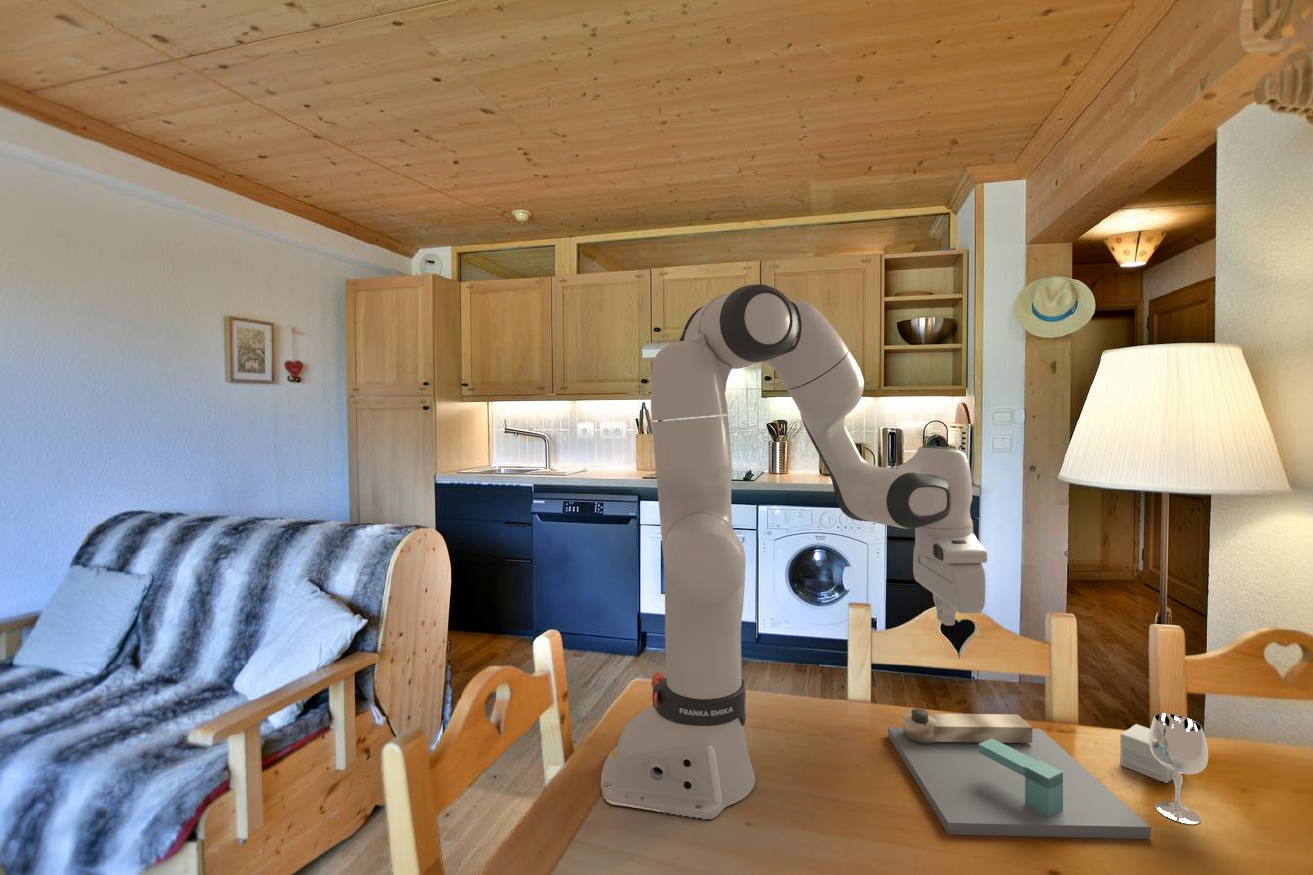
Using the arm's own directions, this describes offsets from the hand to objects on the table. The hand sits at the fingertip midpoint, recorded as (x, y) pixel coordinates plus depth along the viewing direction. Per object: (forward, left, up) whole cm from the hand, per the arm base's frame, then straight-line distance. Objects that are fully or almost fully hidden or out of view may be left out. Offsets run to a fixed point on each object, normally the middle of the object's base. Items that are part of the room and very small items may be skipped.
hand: (945, 622), depth 100 cm
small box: (+24, -13, -18) cm, 32 cm away
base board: (+1, -16, -17) cm, 24 cm away
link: (0, -8, -15) cm, 17 cm away
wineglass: (+20, -23, -17) cm, 35 cm away
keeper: (+1, -21, -16) cm, 26 cm away
